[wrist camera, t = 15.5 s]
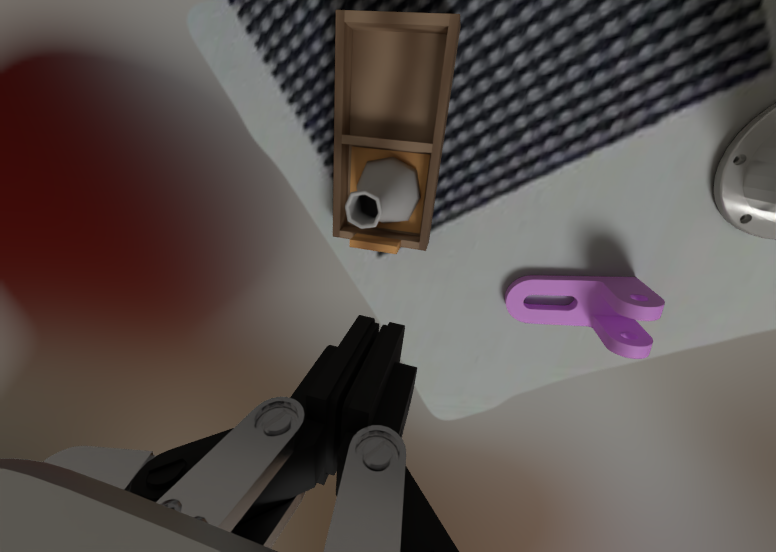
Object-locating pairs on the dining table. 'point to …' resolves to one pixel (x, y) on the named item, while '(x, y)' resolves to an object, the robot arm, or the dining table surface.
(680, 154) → the dining table surface
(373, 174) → the flask
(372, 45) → the divided wooden tray
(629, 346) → the bracket
